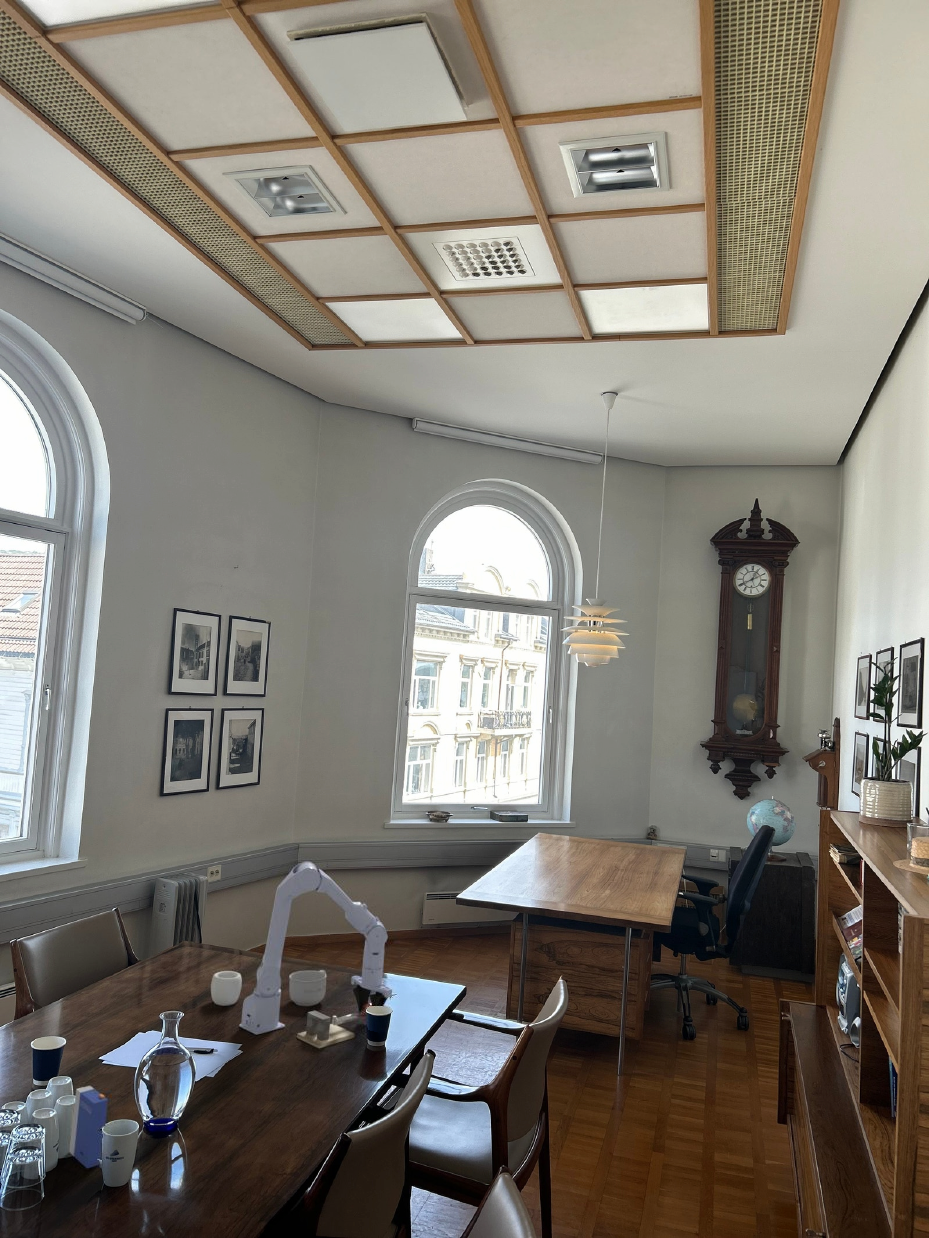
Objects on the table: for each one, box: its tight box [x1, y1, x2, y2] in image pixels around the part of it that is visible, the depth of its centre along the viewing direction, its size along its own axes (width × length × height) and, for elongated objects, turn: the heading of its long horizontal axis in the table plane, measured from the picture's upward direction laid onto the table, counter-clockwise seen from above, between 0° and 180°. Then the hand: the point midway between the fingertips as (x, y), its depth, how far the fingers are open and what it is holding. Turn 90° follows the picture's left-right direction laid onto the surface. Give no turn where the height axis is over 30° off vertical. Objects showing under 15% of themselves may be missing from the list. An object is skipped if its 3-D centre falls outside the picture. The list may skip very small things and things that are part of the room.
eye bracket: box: [296, 1010, 355, 1049], centre depth 237 cm, size 12×9×6 cm
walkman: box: [68, 1085, 109, 1169], centre depth 170 cm, size 8×3×12 cm, turn 47°
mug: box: [210, 970, 243, 1007], centre depth 259 cm, size 12×8×8 cm
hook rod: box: [331, 1001, 371, 1026], centre depth 244 cm, size 14×5×5 cm, turn 139°
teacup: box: [288, 969, 327, 1007], centre depth 263 cm, size 14×11×8 cm
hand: (368, 1017), depth 248 cm, fingers closed on hook rod, 5 cm apart
